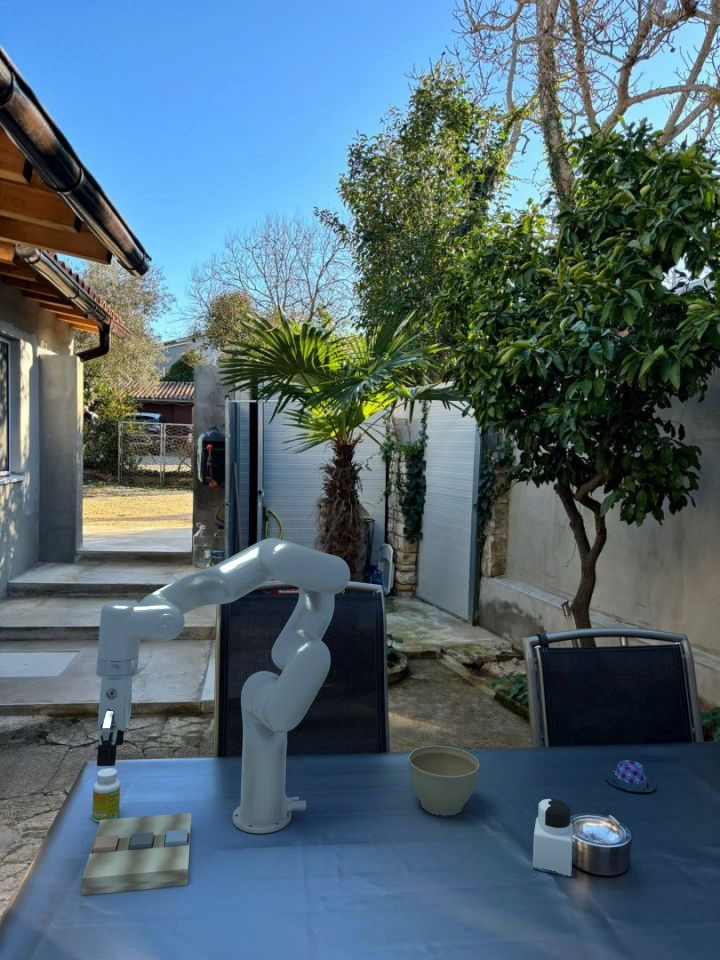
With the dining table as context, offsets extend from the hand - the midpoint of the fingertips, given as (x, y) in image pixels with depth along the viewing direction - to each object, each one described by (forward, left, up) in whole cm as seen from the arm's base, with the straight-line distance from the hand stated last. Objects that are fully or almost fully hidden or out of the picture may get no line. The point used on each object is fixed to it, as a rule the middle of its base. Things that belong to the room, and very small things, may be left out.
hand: (110, 754), depth 126 cm
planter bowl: (-71, -9, -20) cm, 75 cm away
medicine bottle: (-85, +16, -20) cm, 89 cm away
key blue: (-13, +1, -18) cm, 22 cm away
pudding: (-123, -13, -20) cm, 126 cm away
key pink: (0, +1, -17) cm, 18 cm away
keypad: (-6, +1, -20) cm, 21 cm away
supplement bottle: (+3, -16, -20) cm, 25 cm away
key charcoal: (-6, +1, -18) cm, 19 cm away
